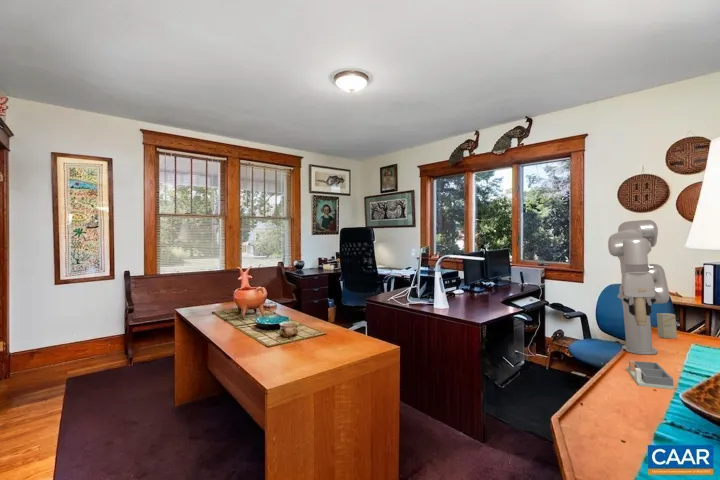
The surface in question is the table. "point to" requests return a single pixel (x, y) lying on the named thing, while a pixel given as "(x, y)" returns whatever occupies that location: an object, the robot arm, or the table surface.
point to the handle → (640, 309)
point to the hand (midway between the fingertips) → (640, 314)
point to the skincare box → (666, 325)
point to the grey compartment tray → (650, 375)
